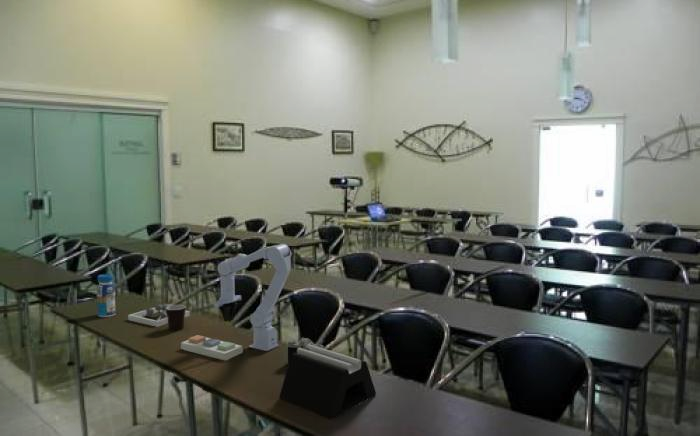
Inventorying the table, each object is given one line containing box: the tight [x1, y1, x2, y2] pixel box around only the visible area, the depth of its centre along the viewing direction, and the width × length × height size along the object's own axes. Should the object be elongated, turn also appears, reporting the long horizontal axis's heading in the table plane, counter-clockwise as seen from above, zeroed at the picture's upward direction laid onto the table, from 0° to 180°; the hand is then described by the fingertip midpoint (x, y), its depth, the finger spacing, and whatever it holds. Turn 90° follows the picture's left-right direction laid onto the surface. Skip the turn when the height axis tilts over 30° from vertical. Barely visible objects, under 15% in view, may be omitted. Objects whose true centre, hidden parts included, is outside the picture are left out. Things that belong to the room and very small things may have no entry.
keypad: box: [180, 337, 244, 361], centre depth 222 cm, size 24×10×3 cm, turn 60°
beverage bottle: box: [96, 273, 117, 318], centre depth 270 cm, size 8×8×20 cm
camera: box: [286, 337, 325, 365], centre depth 208 cm, size 15×7×10 cm, turn 74°
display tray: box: [127, 307, 191, 328], centre depth 266 cm, size 20×20×2 cm
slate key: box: [203, 337, 221, 347], centre depth 222 cm, size 5×5×2 cm
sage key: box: [218, 341, 236, 351], centre depth 218 cm, size 5×5×2 cm
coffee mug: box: [166, 304, 187, 332], centre depth 251 cm, size 12×9×10 cm
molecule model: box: [142, 303, 173, 321], centre depth 267 cm, size 15×9×11 cm
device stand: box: [279, 344, 377, 420], centre depth 180 cm, size 22×22×15 cm
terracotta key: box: [188, 334, 207, 344], centre depth 226 cm, size 5×5×2 cm
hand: (228, 320), depth 232 cm, fingers closed
